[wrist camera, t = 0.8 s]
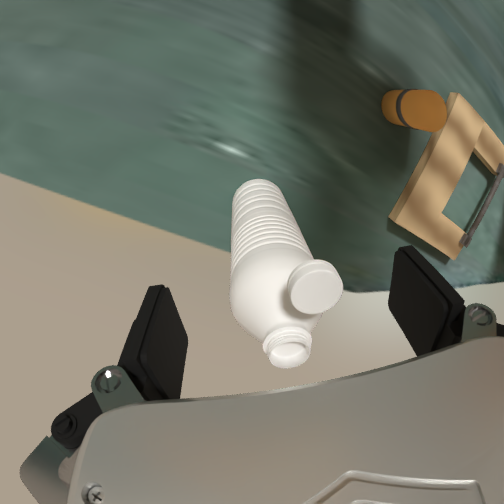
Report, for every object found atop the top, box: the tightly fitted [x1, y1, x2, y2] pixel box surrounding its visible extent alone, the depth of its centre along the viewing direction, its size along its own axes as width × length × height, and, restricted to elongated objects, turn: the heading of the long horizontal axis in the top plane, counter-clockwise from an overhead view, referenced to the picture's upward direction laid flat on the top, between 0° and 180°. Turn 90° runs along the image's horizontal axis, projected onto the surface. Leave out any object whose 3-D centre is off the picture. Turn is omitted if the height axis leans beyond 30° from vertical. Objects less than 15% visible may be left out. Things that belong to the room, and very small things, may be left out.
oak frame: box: [388, 92, 504, 260], centre depth 34 cm, size 22×16×3 cm
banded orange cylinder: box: [381, 89, 447, 132], centre depth 27 cm, size 5×5×8 cm
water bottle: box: [229, 179, 343, 369], centre depth 25 cm, size 9×6×25 cm
